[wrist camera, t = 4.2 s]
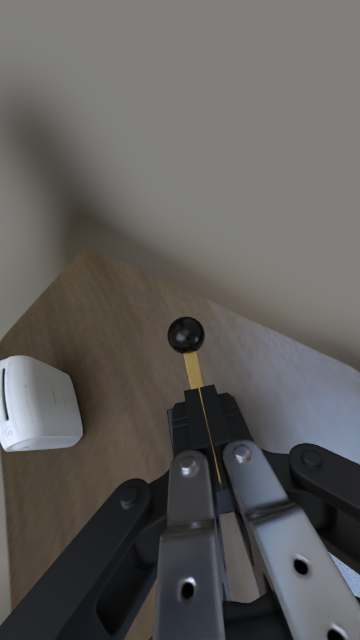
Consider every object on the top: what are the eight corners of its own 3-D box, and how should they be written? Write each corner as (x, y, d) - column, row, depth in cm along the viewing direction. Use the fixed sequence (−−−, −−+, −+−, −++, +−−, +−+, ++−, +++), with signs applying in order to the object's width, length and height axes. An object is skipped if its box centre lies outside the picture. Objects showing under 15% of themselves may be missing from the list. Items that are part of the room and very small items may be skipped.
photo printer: (88, 439, 33) (30, 439, 22) (58, 454, 33) (-17, 460, 22) (72, 371, 38) (17, 342, 27) (45, 383, 37) (-22, 359, 26)
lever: (165, 320, 23) (162, 321, 20) (199, 313, 23) (202, 313, 20) (196, 466, 23) (198, 491, 20) (229, 459, 23) (237, 483, 20)
